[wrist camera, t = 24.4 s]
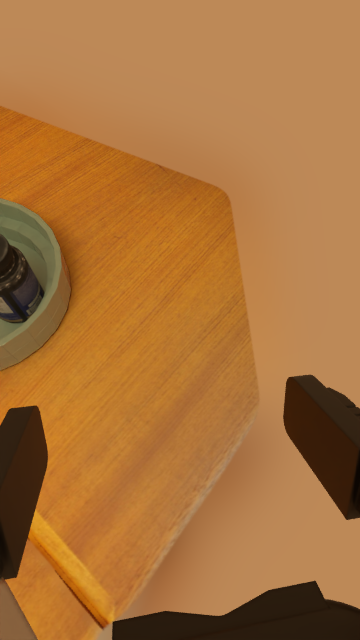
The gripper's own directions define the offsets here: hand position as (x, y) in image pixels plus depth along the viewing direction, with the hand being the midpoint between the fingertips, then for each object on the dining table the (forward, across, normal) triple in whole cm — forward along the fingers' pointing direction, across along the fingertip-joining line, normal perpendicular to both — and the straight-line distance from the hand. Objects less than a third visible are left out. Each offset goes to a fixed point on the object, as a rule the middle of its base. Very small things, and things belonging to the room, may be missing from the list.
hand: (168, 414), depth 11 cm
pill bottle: (+34, +14, +6) cm, 38 cm away
